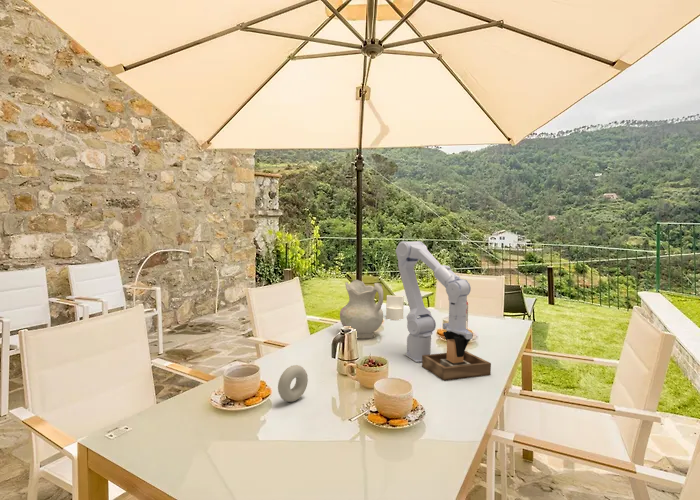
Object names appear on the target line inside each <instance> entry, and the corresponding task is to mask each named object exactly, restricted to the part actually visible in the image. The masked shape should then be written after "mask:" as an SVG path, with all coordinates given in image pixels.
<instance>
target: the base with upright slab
mask: <svg viewBox="0 0 700 500" xmlns="http://www.w3.org/2000/svg"><path fill="white" fill-rule="evenodd" d="M404 297H405V296H404V295H392V294H390V295H389V294H387V295H386V303H385V304H386V308H385V309H386V310H385V312H386V313H385V318H387V319H386V320H388V319H391V320H390V321H400V320H399V319H403V320H404V305H405V303H404V301H405V300H404V299H405V298H404Z"/></svg>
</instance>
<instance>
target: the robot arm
mask: <svg viewBox="0 0 700 500" xmlns="http://www.w3.org/2000/svg"><path fill="white" fill-rule="evenodd" d="M395 254H396V259H397V261H398V262H397V267H398V270H399V271H398V272H399V274H400V279H401V281H402V285H403V289H404V293H405V296H406V300H407V303H408V307H409V313H407V315H406V320H407V323H406V326H407V327H406V328H407V330H408V332H409V334H408V335H407V338H406V352H405V353H404V356H406V357H408V358H409V359H411V360H412V361H414V362H415V363H422V355H431V352H432V351H431V348H432V335H433V332H434V331H435V330H436V327H437V325H436V320H435V318H434V316H433V315H432V313H431V311H430V310H429V309H428V308H426V306H425V304H424V299H423V296H422V293H421V289H420V286H419V283H418V278H417V276H416V272H415V269H414V268H415V265H416V264H417V263H418V262H419V261H421V262H422V263H423V264H425V265H426V267H428V268H430V269H431V271H433V272H434V273H433V275H434V277H435V279H436V280H437V281H438V282H439V283H440V284H441V286H443V287H444V288H445V292H446V294H447V296H448V297H447V298H448V322H444V323H442V329H443V330H445V331H443V334H442V335H443V336H444V338H445V341H446V342H447V339H454V340H455V344H456V354H457V357H463V355H464V352H465V351H466V348H467V346H468V345H469V342H470V341H471V340H473V332H471V331H470V330H468V328H467V329H466V307H467V302H468V296H469V295H470V293H471V291H472V290H471V289H472V288H471V285H470V282H469V281H468V280H467V279H466V278H465V279H464V278H460V276H459V275H457V274H456V273H455V272H454V271H453V270H452V268H451V266H449V265H446V264H441V263H440V262H439V261H438V260H437V258H435V256H434V255H433V254H432V253H431V252H430V251H429V250H428V247H427V246H426V244H424V242H422V241H420V240H416V241H406V240H402V241H399V243H398V245H397V247H396V249H395Z"/></svg>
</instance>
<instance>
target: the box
mask: <svg viewBox="0 0 700 500" xmlns="http://www.w3.org/2000/svg"><path fill="white" fill-rule="evenodd" d="M421 367H422V368H423V369H425V370H427V371H428V372H429V373H431V374H433V375H434V376H436V377H437V378H439V379H441V380H442V381H444V382H446V381H447V382H448V381H454V380H455V381H456V380H461V379H462V380H463V379H469V378H477V377H478V378H479V377H485V376H491V374H492V371H491V370H492V362H489V361H487V360H485V359H483V358H482V357H480V356H478V355H475V354H472V353H471V352H469V351H466V350H465V352H464V355H463V362H459V363H452V362H450V361H448V360H447V352H443V353H442V352H441V353H434V354H430V355H422V362H421Z"/></svg>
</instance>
